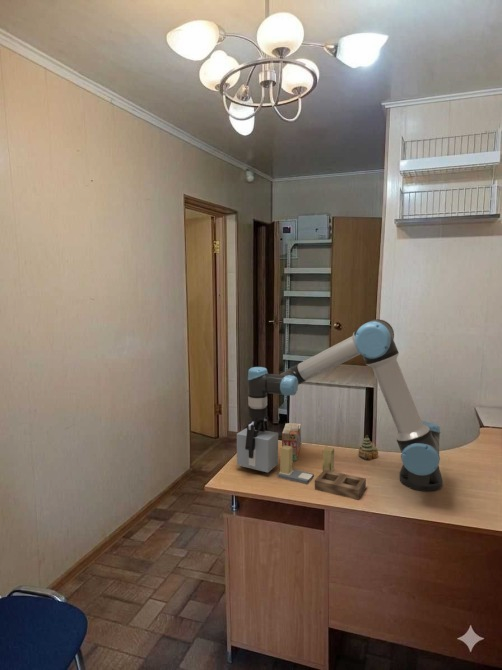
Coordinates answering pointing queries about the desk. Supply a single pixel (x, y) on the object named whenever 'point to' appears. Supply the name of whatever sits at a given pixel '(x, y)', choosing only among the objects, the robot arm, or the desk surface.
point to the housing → (259, 450)
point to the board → (295, 476)
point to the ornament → (367, 449)
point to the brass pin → (328, 459)
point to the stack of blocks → (292, 438)
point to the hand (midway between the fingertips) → (258, 460)
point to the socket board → (340, 484)
